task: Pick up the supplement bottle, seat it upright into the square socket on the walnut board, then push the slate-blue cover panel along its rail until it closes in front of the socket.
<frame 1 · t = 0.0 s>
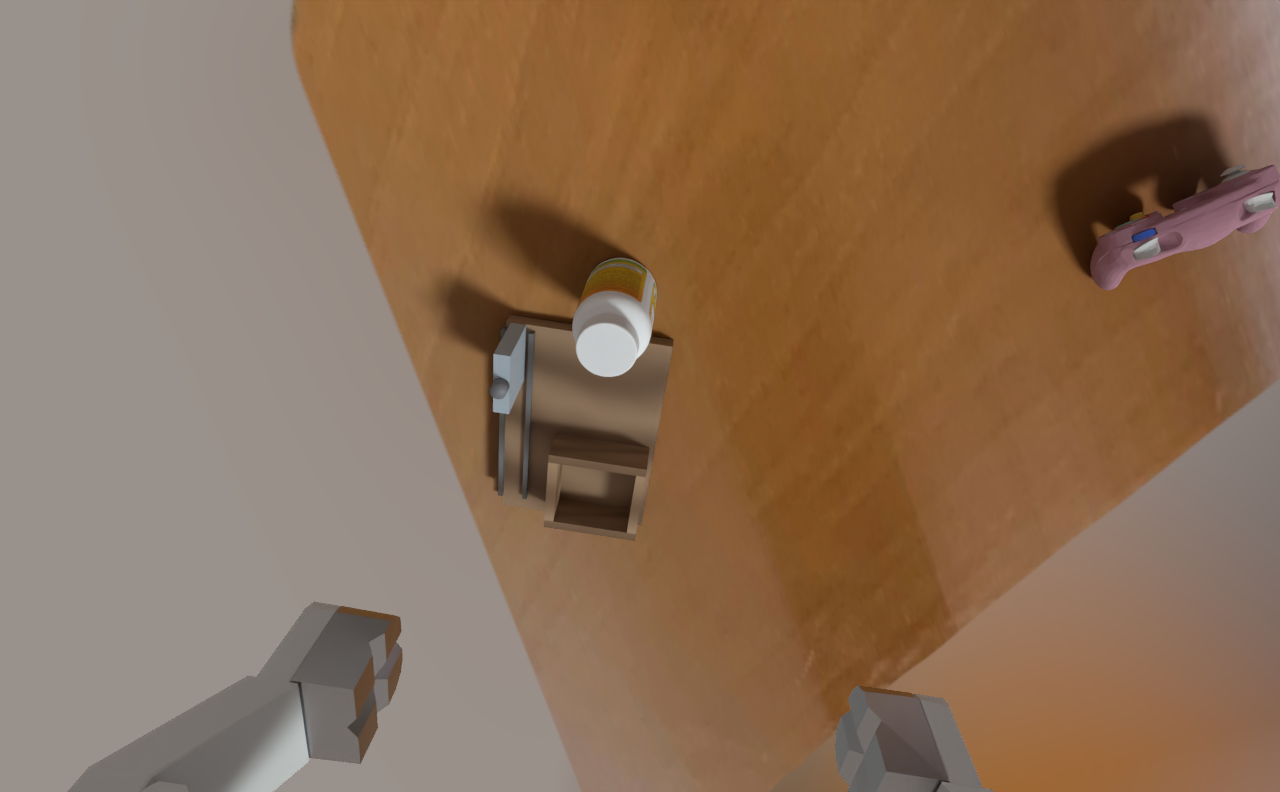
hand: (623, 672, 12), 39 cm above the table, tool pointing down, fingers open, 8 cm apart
board: (581, 424, 57), on the table
video game controller: (1156, 217, 44), on the table
supplement bottle: (622, 288, 50), on the table
cover panel: (508, 371, 49), point 4 cm above the table, slide at 0.0 cm
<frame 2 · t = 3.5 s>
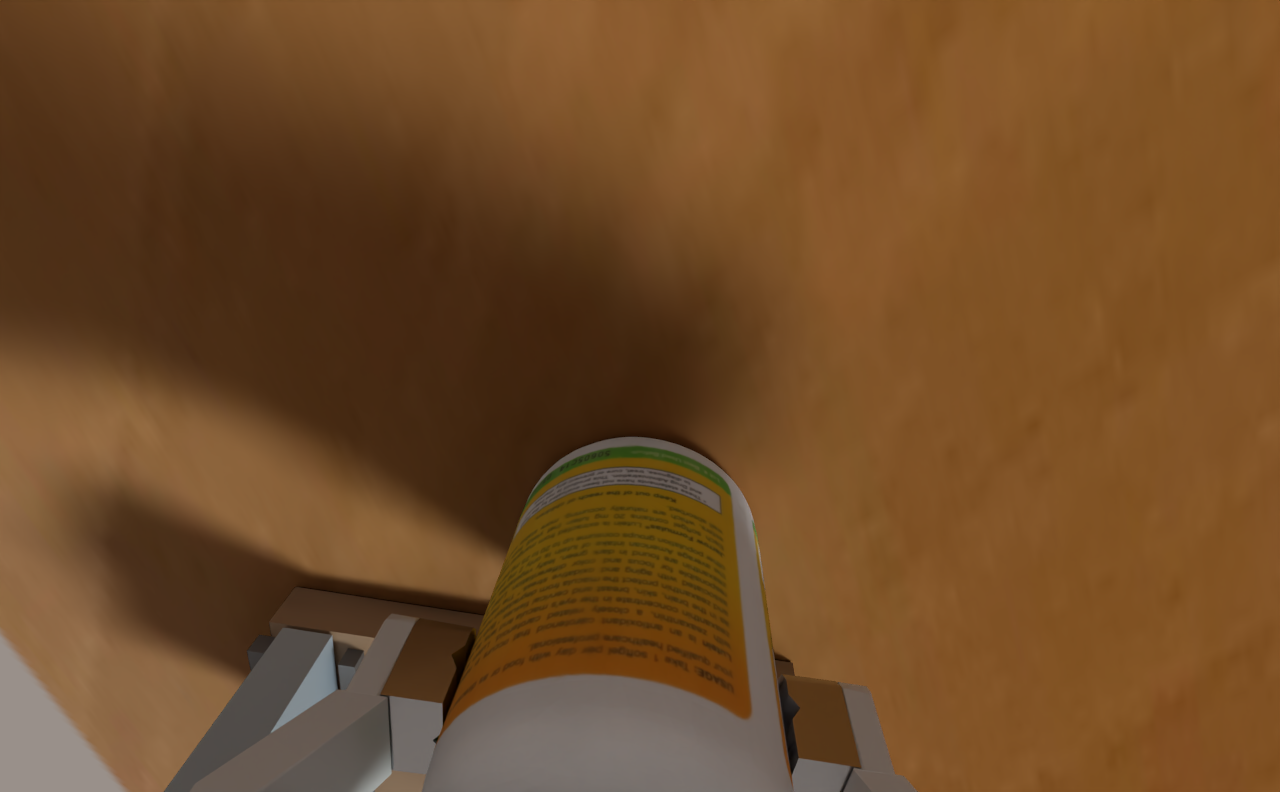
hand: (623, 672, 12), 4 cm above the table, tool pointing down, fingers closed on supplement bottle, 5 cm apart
supplement bottle: (639, 523, 16), on the table, touching gripper
when the fingers open (6 cm above the table, at t = 9.3 s): supplement bottle stays where it is, resting on board.
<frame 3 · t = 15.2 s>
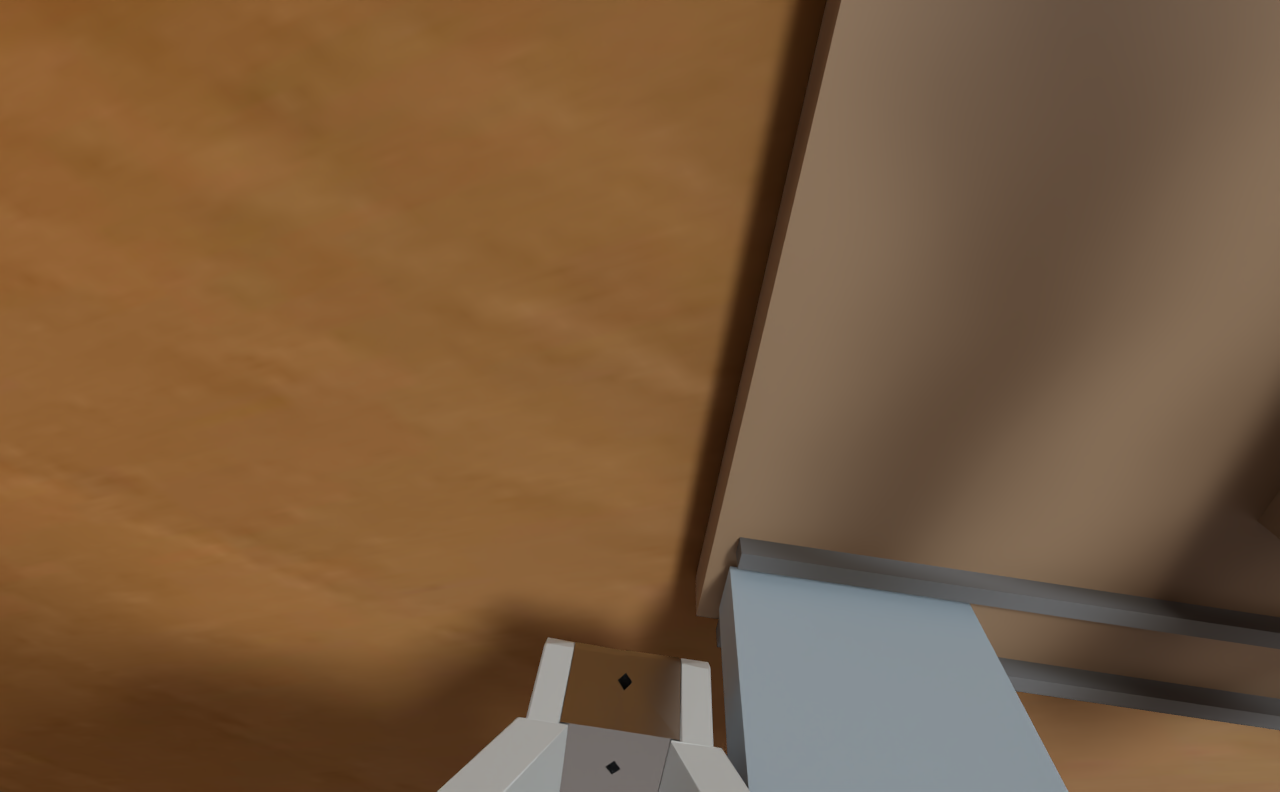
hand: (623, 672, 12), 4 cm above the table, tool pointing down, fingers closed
board: (1245, 393, 13), on the table
cover panel: (878, 734, 11), point 4 cm above the table, slide at 0.4 cm, touching gripper
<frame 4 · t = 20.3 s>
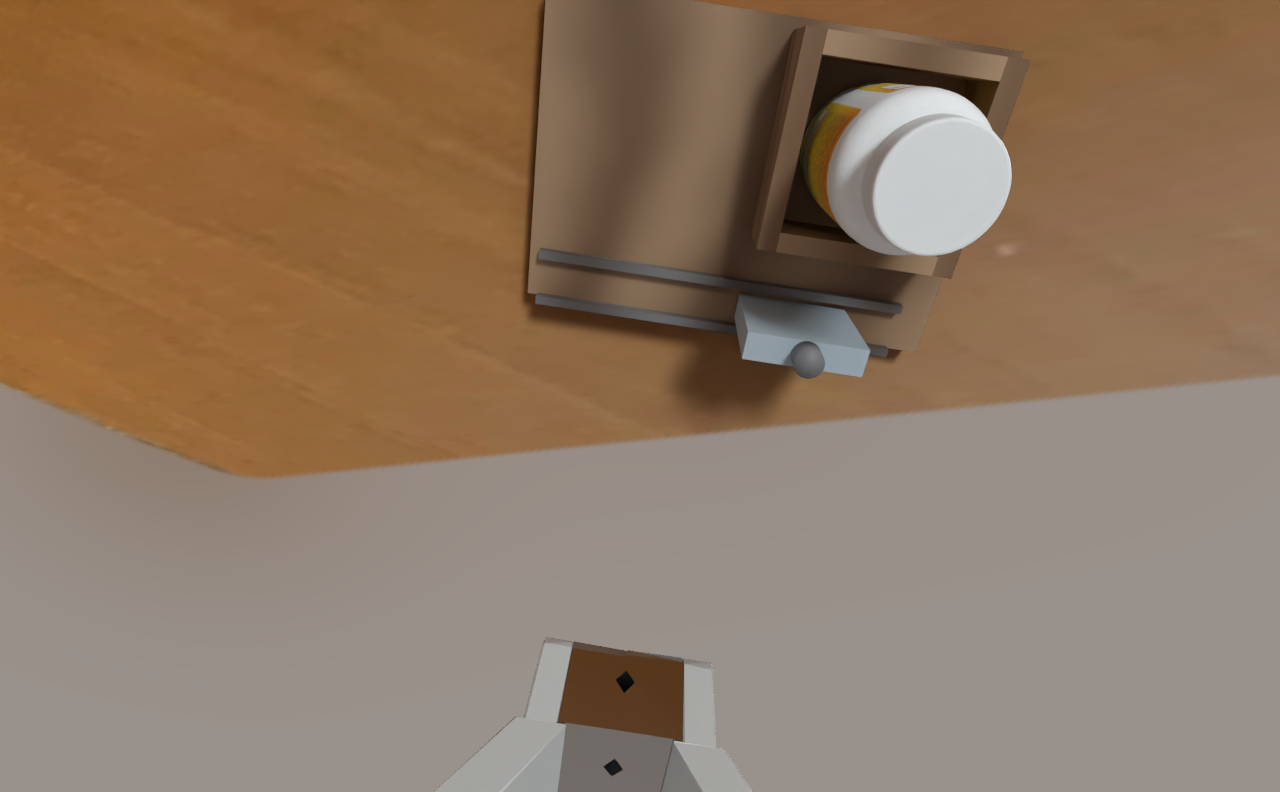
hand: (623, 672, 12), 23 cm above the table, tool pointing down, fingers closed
board: (748, 180, 30), on the table
supplement bottle: (861, 151, 28), point 1 cm above the table, touching board
cover panel: (798, 336, 28), point 4 cm above the table, slide at 10.0 cm
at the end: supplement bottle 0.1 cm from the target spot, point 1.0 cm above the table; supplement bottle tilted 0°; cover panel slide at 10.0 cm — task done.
